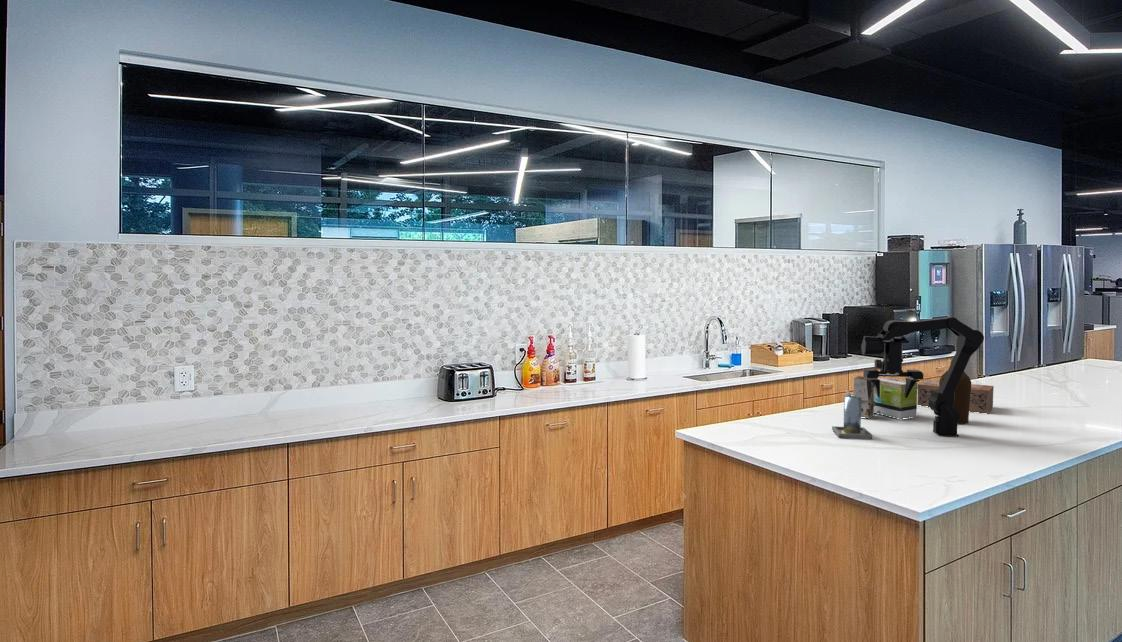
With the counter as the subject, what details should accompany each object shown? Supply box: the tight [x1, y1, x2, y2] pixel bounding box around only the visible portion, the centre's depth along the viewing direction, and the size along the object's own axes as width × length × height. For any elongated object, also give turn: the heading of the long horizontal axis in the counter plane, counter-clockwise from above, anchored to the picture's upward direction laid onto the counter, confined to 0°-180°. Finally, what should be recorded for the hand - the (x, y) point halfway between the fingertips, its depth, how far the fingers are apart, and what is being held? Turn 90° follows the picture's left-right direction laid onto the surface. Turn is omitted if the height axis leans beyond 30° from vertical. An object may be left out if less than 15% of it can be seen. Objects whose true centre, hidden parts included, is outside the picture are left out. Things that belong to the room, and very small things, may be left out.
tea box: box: [874, 376, 918, 419], centre depth 252 cm, size 15×10×15 cm, turn 25°
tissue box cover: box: [917, 379, 995, 415], centre depth 266 cm, size 26×14×10 cm, turn 49°
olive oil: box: [938, 357, 972, 425], centre depth 240 cm, size 11×11×25 cm
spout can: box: [843, 389, 862, 434], centre depth 222 cm, size 6×6×16 cm
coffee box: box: [852, 375, 874, 419], centre depth 251 cm, size 9×6×16 cm
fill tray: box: [831, 425, 873, 440], centre depth 223 cm, size 11×11×2 cm
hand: (892, 397), depth 224 cm, fingers open, 9 cm apart
